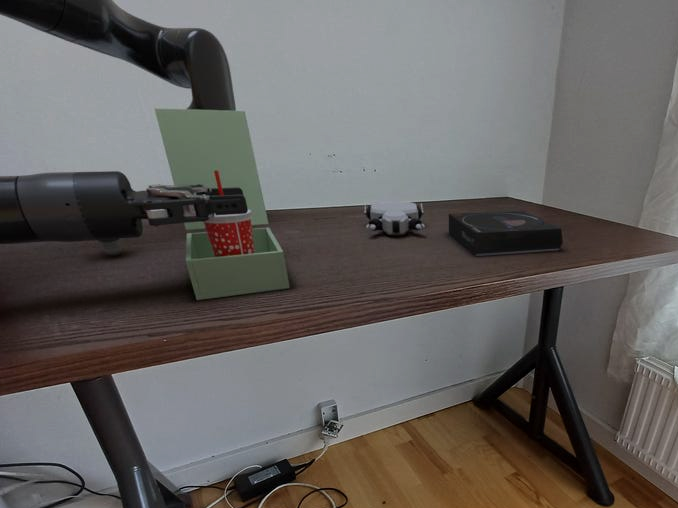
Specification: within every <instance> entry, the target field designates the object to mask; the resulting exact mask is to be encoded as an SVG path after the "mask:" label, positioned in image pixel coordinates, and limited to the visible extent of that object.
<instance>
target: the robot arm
mask: <svg viewBox="0 0 678 508" xmlns="http://www.w3.org/2000/svg"><path fill="white" fill-rule="evenodd" d="M0 15H1V16H3V17H5V18H9V19H12V20H14V21H16V22H19V23H21V24H23V25H25V26H28V27H30V28H33V29H35V30H37V31H39V32H43V33H45V34H49V35H50V36H53V37H56V38H58V39H61V40H64V41H66V42H69V43H71V44H74V45H77V46H81V47H83V48H86V49H88V50H91V51H94V52H97V53H99V54H102V55H106V56H109V57H113V58H117V59H119V60H122V61H125V62H127V63H129V64H131V65H134V66H136V67H137V68H140V69H142V70H144V71H145V72H148V73H149V74H151V75H153V76H155V77H157V78H159V79H161V80H163V81H165V82H167V83H169V84H171V85H173V86H176V87H178V88H183V89H186V90H187V89H188V90H191V91H190V92H191V101H190V104H189V105H188V106H187V107H186V109H190V110H224V111H237V107H236V100H235V95H234V94H235V93H234V87H233V80H232V74H231V73H232V71H231V68H230V67H231V66H230V63H229V59H228V57H227V53H226V51H225V49H224V46H223V44H222V43H221V42H220V40H219V39H218V37H216V35H214V33H212V32H211V31H209V30H207V29H204V28H199V27H164V26H161V25H158V24H154V23H152V22H149V21H146V20H144V19H143V18H140V17H137V16H135V15H133V14H132V13H129V12H128V11H126V10H124V9H122V8H121V7H120V6H119V5H118V4H117V3H116V2H115V1H114V0H0ZM222 190H223V194H224V195H219V191H218V188H211V191H210V187H206V186H204V185H201V184H197V185H184V184H183V185H174V184H170V185H169V184H168V185H167V184H160V183H158V184H149V185H148V186H147V188H146V189H145V190H139V191H138V190H137V191H136V190H134V189H133V188H132V185H131V182H130V181H129V178H128V177H127V176H126V175H125V174H124V172H121V171H119V170H114V171H113V170H112V171H111V170H110V171H109V170H108V171H107V170H106V171H62V172H61V171H57V172H52V171H51V172H41V173H33V174H26V175H25V174H24V175H23V174H22V175H0V245H14V244H15V245H17V244H30V243H44V242H47V243H48V242H60V243H77V242H79V243H80V242H91V241H92V242H93V241H98V240H107V239H119V240H121V239H133V238H134V239H135V238H139V237H141V236H142V235H143V231H144V229H143V228H144V227H143V221H142V220H147V221H148V224H149V226H154V227H159V226H165V225H166V226H167V225H176V224H184V223H188V222H199V221H201V222H205V221H207V220H209V218H212V217H215V215H231V214H245V213H247V212H248V208H247V204H246V199H245V197H244V195H243V191H242V189H241V188H239V187H233V188H222ZM194 193H196V195H194ZM214 213H215V215H214ZM184 214H185V215H184Z"/></svg>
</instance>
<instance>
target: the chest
mask: <svg viewBox="0 0 678 508" xmlns="http://www.w3.org/2000/svg"><path fill="white" fill-rule="evenodd" d="M252 233H253V240H254V247H255V253H253V254H242V255H232V256H221V257H215V255H214V252H213V249H212V246H211V243H210V240H209V237H208V234H207V231H198V232H187V233H186V242H185V243H186V245H185V246H186V247H185V264H186V268H187V272H188V275H189V278H190V282H191V285H192V290H193V293H194V295H195V300H196V301H203V300H208V299H216V298H224V297H231V296H232V297H233V296H239V295H247V294H255V293H262V292H271V291H279V290H285V289H290V288H291V287H290V281H289V275H288V270H287V264H286V258H285V254H284V250H283V249H282V247H281V245H280V243H279V242H278V240H277V238H276V236H275V235H274V234H273V233H274V232H272V230H271V228H270V227H269V226H267V227H252Z"/></svg>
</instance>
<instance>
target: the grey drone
mask: <svg viewBox="0 0 678 508" xmlns="http://www.w3.org/2000/svg"><path fill="white" fill-rule="evenodd" d="M363 213H364V216H366V217H367V219H368V220H369V221H368V224H367V225H366V226H365V228H366V230H370V231H374V232H376V231H378V230H381V228H382V230H383V231H384V232H385V233H386V235H388V236H404V235H406V233H407V232H408V231H409V230H410V228H411V229H412V230H414V231H421V230H425V229H426V225H425V224H424V223H423V222H422V220H421V218H422V216H424V215H425V213H424V208H423V203H420V206H419V205H417V204H416V203H415V202H409V201H396V200H395V201H393V200H392V201H378V202H373V203H371V204H370V205H369V206H367V203H366V202H365V203H364V211H363Z"/></svg>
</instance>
